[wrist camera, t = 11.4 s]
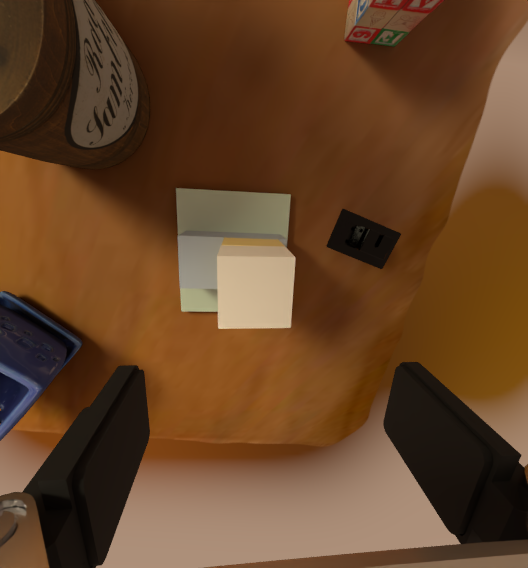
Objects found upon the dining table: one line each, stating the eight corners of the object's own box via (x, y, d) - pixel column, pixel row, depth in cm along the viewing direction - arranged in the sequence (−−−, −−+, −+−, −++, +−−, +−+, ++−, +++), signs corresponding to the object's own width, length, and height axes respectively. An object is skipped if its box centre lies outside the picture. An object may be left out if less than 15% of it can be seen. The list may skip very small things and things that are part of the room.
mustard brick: (223, 289, 31) (221, 305, 27) (224, 237, 30) (221, 244, 25) (274, 289, 32) (281, 305, 27) (278, 239, 30) (285, 246, 26)
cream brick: (220, 245, 25) (216, 256, 20) (284, 246, 26) (295, 257, 21) (221, 305, 27) (218, 328, 22) (281, 305, 27) (290, 327, 23)
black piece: (409, 232, 39) (431, 236, 34) (384, 277, 41) (403, 287, 36) (333, 198, 36) (347, 198, 32) (311, 249, 38) (321, 255, 34)
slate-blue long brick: (187, 276, 36) (179, 288, 31) (185, 230, 34) (177, 235, 29) (277, 278, 37) (283, 290, 32) (280, 234, 35) (286, 239, 30)
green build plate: (183, 308, 38) (181, 311, 37) (178, 188, 34) (175, 188, 32) (280, 309, 40) (281, 312, 39) (289, 194, 35) (290, 194, 34)
